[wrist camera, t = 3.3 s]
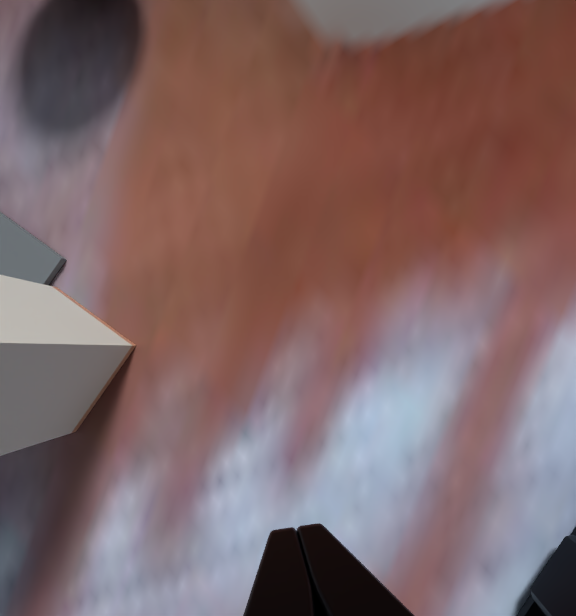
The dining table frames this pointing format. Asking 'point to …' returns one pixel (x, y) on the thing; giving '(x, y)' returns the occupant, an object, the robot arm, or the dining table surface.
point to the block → (50, 363)
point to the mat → (26, 254)
